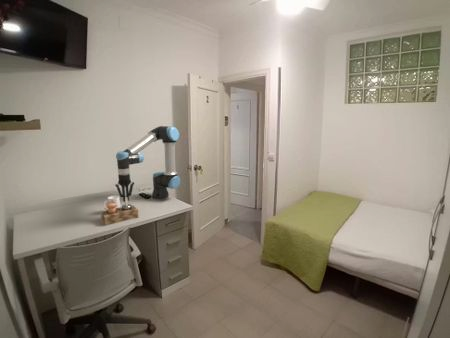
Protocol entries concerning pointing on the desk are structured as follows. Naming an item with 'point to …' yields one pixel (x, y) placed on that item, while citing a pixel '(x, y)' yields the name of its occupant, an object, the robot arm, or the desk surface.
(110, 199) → the mug
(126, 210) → the ball grey
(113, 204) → the peach ball
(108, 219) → the block
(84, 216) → the desk surface
